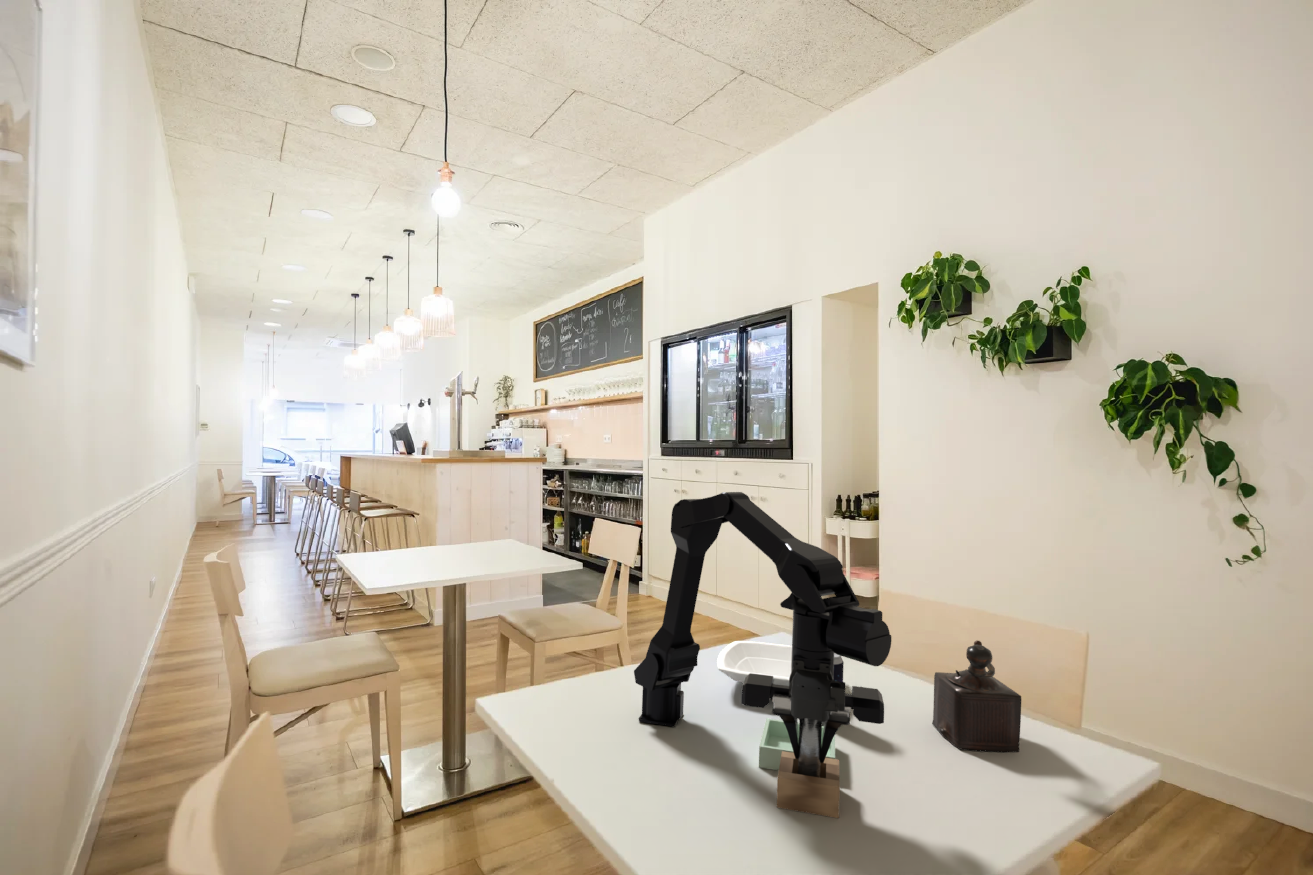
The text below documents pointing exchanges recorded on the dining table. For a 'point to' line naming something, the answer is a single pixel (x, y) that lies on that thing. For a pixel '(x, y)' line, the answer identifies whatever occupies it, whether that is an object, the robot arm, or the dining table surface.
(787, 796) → the brown square sleeve
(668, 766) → the dining table surface
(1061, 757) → the dining table surface
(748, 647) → the bowl
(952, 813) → the dining table surface
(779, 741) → the tray
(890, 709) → the dining table surface
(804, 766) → the cylinder
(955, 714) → the dark brown ornamental box
